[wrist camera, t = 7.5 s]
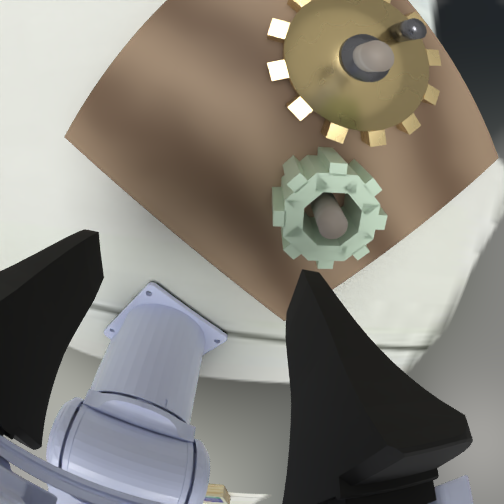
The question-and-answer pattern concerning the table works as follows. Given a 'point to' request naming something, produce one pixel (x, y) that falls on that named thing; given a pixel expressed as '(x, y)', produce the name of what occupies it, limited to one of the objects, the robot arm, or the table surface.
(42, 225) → the table surface
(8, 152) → the table surface
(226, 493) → the puzzle box
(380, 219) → the pale green gear
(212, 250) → the gear board
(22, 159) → the table surface
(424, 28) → the brass gear
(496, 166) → the table surface
